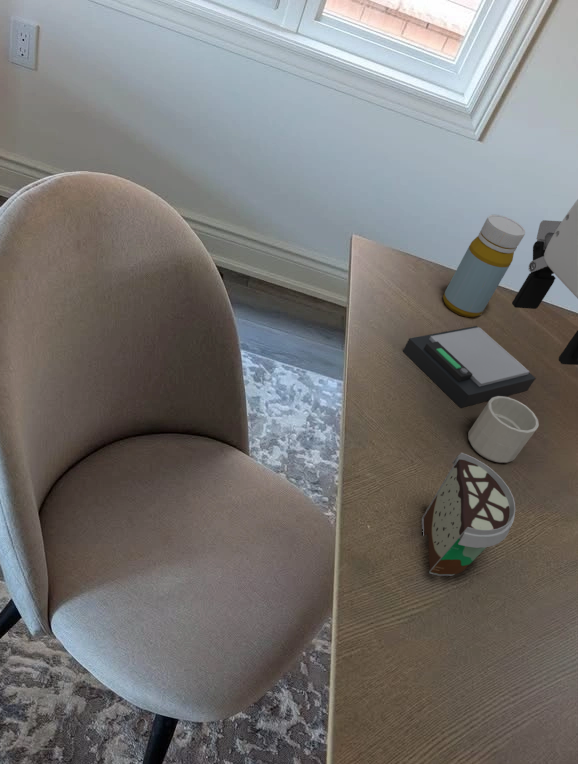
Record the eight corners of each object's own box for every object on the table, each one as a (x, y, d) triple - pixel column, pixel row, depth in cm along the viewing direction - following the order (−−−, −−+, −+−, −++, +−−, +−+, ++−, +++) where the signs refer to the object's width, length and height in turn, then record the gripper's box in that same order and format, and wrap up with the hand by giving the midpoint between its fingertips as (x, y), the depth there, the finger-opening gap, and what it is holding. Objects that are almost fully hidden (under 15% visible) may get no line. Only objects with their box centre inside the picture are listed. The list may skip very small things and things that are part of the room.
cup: (489, 425, 104) (511, 392, 100) (524, 459, 101) (548, 426, 96) (456, 434, 101) (478, 401, 96) (491, 470, 97) (515, 436, 93)
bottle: (455, 290, 129) (499, 210, 119) (488, 313, 127) (535, 232, 116) (433, 299, 125) (477, 216, 115) (466, 323, 123) (514, 240, 112)
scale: (469, 338, 119) (480, 318, 117) (527, 390, 113) (540, 371, 110) (402, 351, 112) (412, 330, 109) (460, 408, 105) (473, 388, 103)
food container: (477, 607, 80) (527, 549, 73) (423, 590, 80) (467, 531, 73) (470, 524, 89) (514, 465, 82) (421, 509, 89) (460, 449, 82)
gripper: (740, 235, 64) (619, 387, 76) (623, 143, 75) (533, 289, 87) (675, 227, 62) (561, 386, 74) (564, 133, 73) (480, 285, 85)
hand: (546, 333), depth 81 cm, fingers open, 9 cm apart
